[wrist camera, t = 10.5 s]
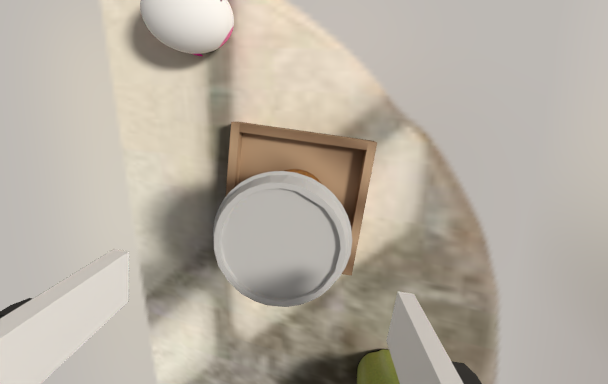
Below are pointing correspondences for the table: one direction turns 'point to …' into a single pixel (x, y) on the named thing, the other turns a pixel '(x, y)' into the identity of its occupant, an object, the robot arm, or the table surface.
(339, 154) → the tray
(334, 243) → the disposable coffee cup
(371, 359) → the plant pot
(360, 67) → the table surface
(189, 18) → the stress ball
